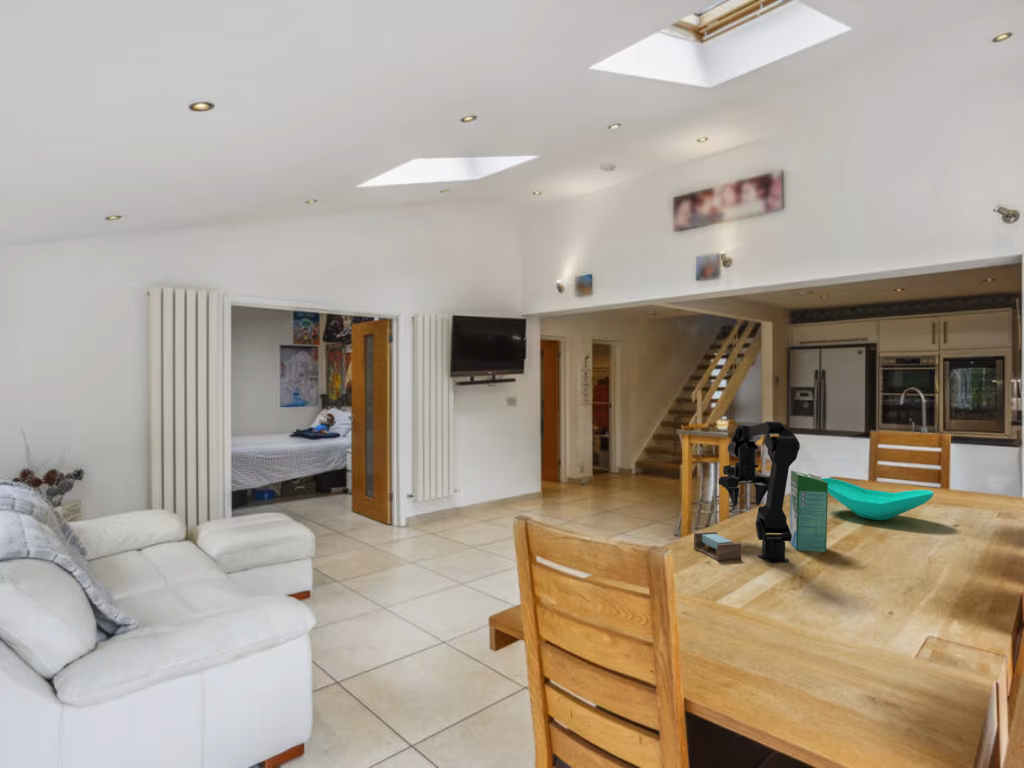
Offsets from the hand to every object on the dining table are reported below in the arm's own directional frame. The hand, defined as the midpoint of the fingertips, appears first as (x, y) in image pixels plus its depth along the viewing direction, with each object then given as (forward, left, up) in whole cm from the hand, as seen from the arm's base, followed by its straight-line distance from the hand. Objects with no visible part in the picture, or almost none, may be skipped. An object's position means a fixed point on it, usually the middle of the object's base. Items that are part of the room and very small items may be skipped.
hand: (746, 505), depth 201 cm
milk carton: (-12, -15, -12) cm, 23 cm away
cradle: (-11, +19, -12) cm, 25 cm away
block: (-11, +19, -9) cm, 24 cm away
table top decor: (+14, -71, -12) cm, 73 cm away
